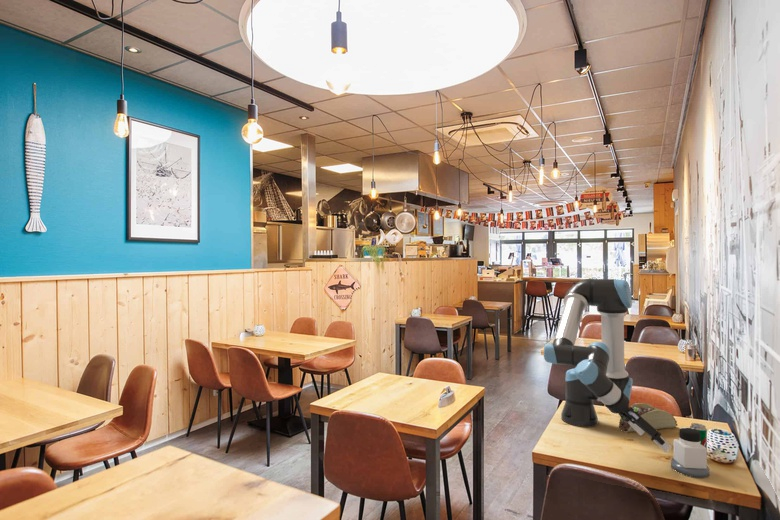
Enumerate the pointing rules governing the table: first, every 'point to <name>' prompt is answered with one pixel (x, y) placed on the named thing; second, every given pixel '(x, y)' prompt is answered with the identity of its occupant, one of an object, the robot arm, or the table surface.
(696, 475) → the disc
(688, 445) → the medicine bottle
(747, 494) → the table surface
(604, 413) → the table surface
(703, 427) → the soda can
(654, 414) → the taco
